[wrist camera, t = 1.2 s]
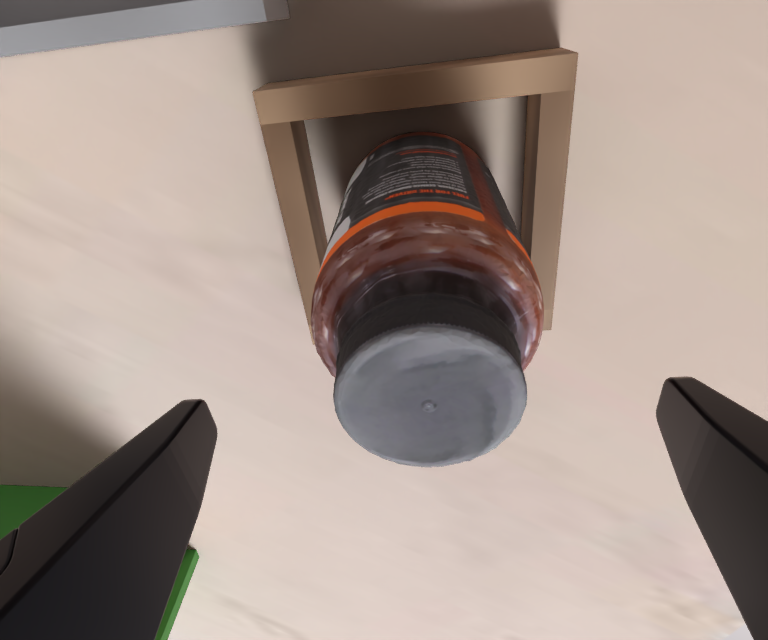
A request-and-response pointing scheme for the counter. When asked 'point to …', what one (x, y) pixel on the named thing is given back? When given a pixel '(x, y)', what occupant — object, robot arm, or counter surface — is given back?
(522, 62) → the brown wooden square frame
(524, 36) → the counter surface
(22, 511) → the hardback book
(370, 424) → the supplement bottle
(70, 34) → the tray
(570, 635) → the counter surface
